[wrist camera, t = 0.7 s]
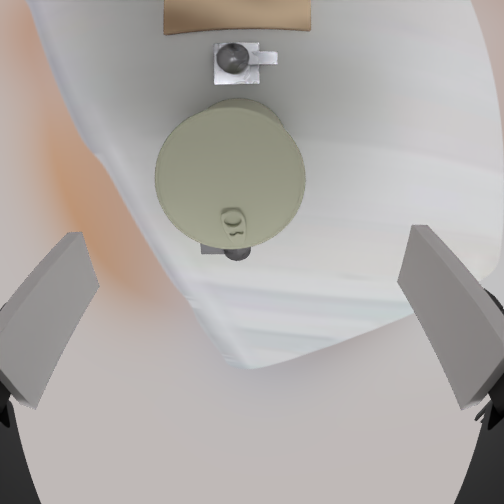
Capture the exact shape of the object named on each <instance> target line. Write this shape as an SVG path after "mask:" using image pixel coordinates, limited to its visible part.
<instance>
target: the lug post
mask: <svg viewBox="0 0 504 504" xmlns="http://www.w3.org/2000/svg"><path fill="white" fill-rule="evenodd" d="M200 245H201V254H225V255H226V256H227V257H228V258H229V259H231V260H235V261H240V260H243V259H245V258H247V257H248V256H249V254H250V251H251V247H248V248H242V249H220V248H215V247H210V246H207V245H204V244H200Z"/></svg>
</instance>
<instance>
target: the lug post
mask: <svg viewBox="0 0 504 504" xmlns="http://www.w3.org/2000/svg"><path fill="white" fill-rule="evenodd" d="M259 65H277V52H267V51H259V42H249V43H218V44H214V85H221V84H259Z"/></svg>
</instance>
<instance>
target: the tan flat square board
mask: <svg viewBox="0 0 504 504" xmlns="http://www.w3.org/2000/svg"><path fill="white" fill-rule="evenodd" d="M226 29H283V30H299V31H310V30H311V3H310V0H164V35H172V34H179V33H188V32H198V31H209V30H226Z"/></svg>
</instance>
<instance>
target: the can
mask: <svg viewBox="0 0 504 504" xmlns="http://www.w3.org/2000/svg"><path fill="white" fill-rule="evenodd" d="M155 188H156V192H157V196H158V199H159V202H160V205H161V207H162V209H163V211H164V212H165V214H166V215H167V217H168V218H169V220H170V221H171V222H172V223H173V224H174V226H175V227H176V228H178V229H179V230H180V231H181V232H182V233H184V234H185V235H186V236H188V237H189V238H191V239H193V240H195V241H197V242H199V243H201V244H204V245H207V246H210V247H215V248H220V249H242V248H248V247H252V246H255V245H258V244H261V243H263V242H265V241H267V240H269V239H271V238H273V237H274V236H276V235H277V234H278V233H279V232H281V231H282V230H283V229H284V228H285V227H286V226H287V225H288V224H289V223H290V222H291V220H292V219H293V217H294V216H295V214H296V213H297V211H298V209H299V207H300V204H301V202H302V199H303V195H304V190H305V167H304V163H303V159H302V156H301V153H300V151H299V149H298V147H297V145H296V143H295V142H294V140H293V139H292V137H291V136H290V135H289V134H288V132H287V131H286V130H285V129H284V127H283V125H282V123H281V122H280V120H279V119H278V117H277V116H276V115H275V114H274V113H273V112H272V111H271V110H270V109H269V108H267V107H266V106H264V105H263V104H260V103H258V102H256V101H253V100H249V99H242V98H234V99H227V100H224V101H221V102H218V103H216V104H214V105H212V106H211V107H209V108H208V109H207V110H205V111H202V112H200V113H197V114H195V115H193V116H191V117H190V118H188V119H186V120H185V121H183V122H182V123H181V124H180V125H179V126H177V127H176V128H175V129H174V130H173V132H172V133H171V134H170V135H169V136H168V138H167V139H166V141H165V142H164V144H163V146H162V148H161V150H160V153H159V155H158V158H157V162H156V168H155Z"/></svg>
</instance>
